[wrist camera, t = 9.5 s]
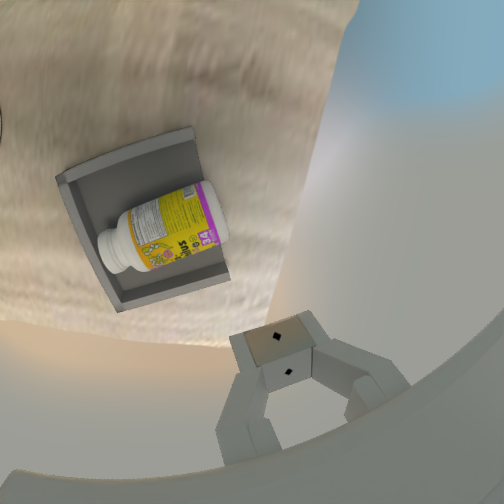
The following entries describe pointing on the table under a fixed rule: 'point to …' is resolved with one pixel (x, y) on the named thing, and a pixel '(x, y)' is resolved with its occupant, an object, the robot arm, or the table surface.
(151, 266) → the supplement bottle
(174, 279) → the tray
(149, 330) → the table surface
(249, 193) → the table surface
